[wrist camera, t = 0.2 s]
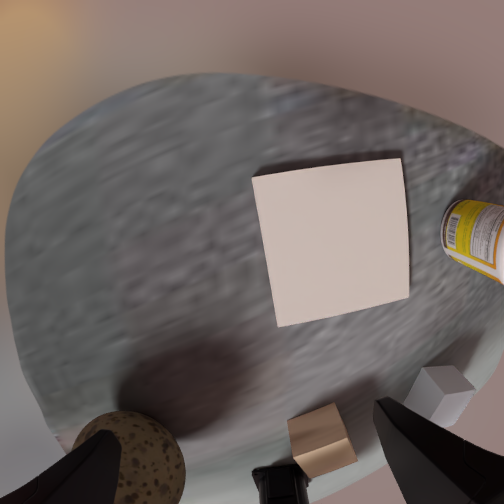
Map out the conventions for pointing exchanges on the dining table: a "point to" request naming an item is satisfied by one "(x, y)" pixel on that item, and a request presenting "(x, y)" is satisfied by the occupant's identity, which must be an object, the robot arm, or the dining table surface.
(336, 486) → the dining table surface
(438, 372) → the pale grey block
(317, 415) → the birch block
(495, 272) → the supplement bottle
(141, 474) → the decorative egg
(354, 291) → the cream square tile
